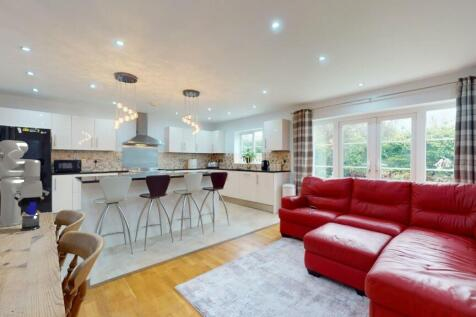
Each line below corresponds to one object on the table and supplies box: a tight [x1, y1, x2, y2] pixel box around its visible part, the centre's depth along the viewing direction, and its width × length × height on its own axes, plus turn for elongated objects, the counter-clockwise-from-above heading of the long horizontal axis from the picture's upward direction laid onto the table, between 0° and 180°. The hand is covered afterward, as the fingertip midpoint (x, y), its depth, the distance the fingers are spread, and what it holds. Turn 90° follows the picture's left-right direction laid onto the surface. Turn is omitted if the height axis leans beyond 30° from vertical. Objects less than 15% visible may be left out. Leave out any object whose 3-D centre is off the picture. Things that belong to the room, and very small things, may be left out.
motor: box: [20, 209, 41, 232], centre depth 141 cm, size 9×9×11 cm
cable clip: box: [25, 201, 37, 215], centre depth 141 cm, size 12×4×6 cm, turn 42°
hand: (30, 206), depth 141 cm, fingers open, 9 cm apart
